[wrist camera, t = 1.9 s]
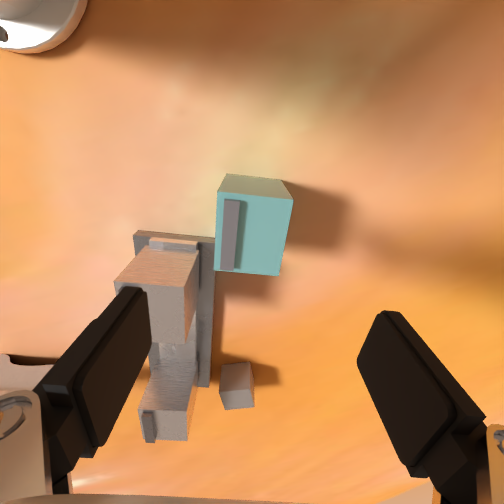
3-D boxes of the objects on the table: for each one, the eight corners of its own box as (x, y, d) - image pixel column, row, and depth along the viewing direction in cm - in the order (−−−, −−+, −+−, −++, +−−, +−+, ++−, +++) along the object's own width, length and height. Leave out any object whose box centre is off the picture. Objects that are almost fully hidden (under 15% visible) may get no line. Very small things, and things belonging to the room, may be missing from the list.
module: (226, 173, 21) (216, 193, 15) (280, 179, 22) (295, 202, 15) (222, 234, 24) (212, 273, 17) (270, 238, 24) (279, 279, 18)
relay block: (222, 364, 33) (218, 392, 30) (249, 361, 33) (249, 388, 30) (227, 381, 35) (225, 409, 32) (253, 379, 35) (254, 407, 31)
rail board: (138, 230, 24) (86, 277, 16) (217, 238, 24) (203, 287, 17) (155, 376, 34) (128, 445, 27) (210, 379, 35) (199, 448, 27)
